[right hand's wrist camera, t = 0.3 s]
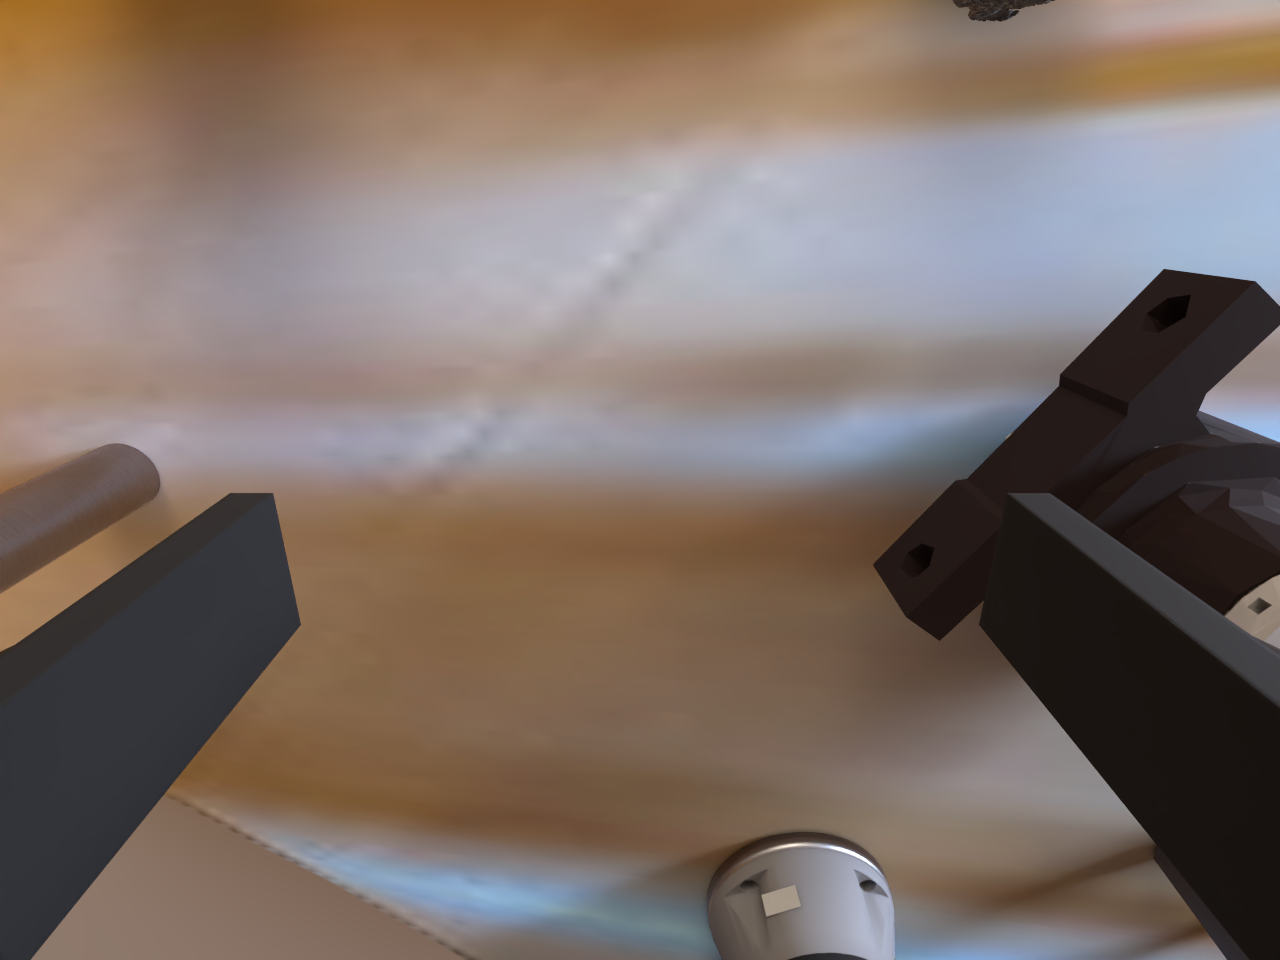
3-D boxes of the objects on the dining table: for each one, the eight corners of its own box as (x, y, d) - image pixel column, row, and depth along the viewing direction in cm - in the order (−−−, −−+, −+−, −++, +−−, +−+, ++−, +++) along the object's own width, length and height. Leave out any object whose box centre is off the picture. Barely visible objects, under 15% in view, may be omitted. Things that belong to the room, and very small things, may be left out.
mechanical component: (1584, 325, 20) (1972, 794, 27) (1117, 262, 39) (1409, 542, 46) (1013, 786, 27) (1440, 1069, 33) (855, 536, 46) (1144, 746, 53)
